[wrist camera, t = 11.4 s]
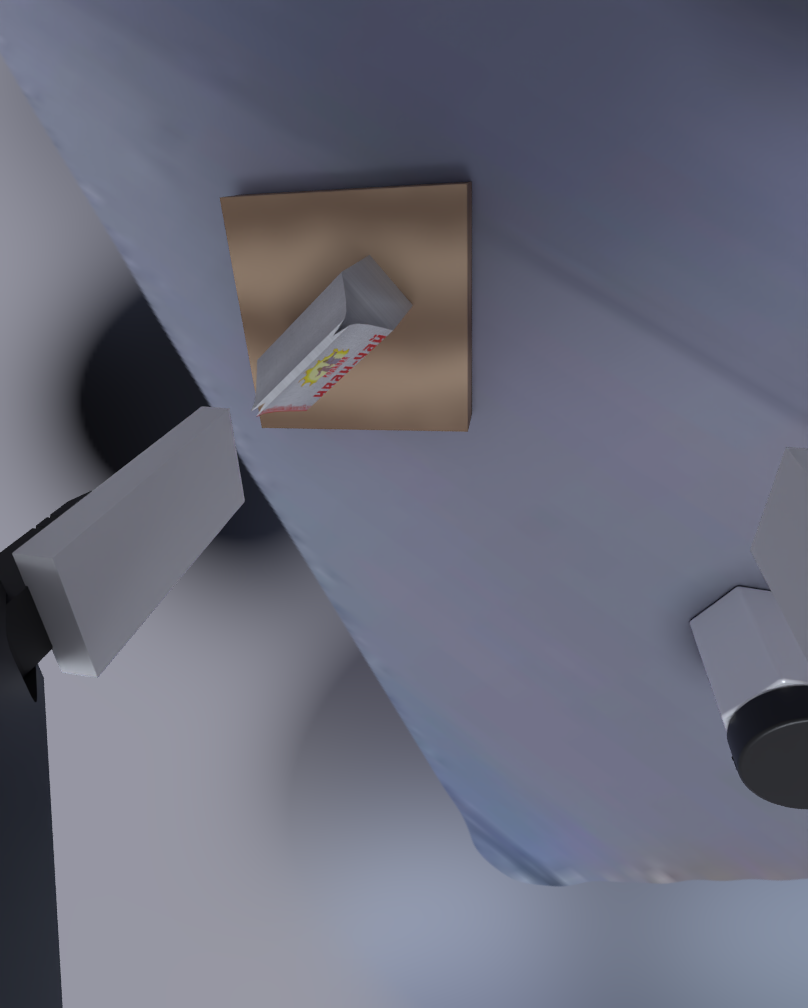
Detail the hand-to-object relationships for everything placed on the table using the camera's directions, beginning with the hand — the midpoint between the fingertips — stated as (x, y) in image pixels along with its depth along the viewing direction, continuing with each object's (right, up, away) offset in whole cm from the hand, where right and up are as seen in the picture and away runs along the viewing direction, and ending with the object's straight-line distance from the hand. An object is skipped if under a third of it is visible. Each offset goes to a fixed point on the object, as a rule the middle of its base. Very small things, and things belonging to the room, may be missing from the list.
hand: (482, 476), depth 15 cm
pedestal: (-5, +12, +24) cm, 27 cm away
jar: (+24, -10, +31) cm, 41 cm away
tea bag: (-5, +11, +22) cm, 25 cm away
